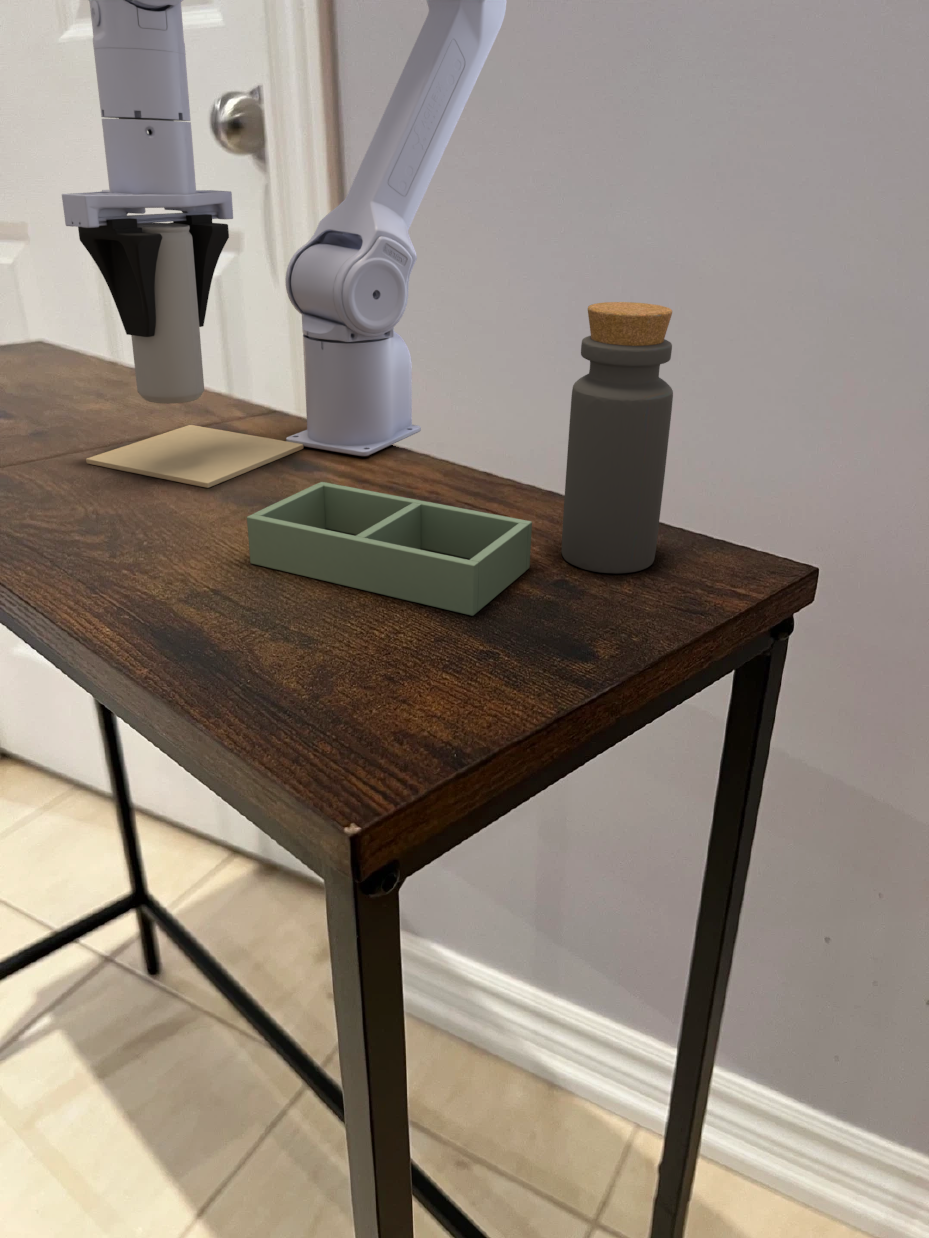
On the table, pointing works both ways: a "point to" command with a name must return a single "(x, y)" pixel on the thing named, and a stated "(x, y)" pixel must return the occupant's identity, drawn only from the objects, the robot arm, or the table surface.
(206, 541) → the table surface
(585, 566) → the bottle
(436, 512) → the divided storage tray
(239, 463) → the mat
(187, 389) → the beverage can
